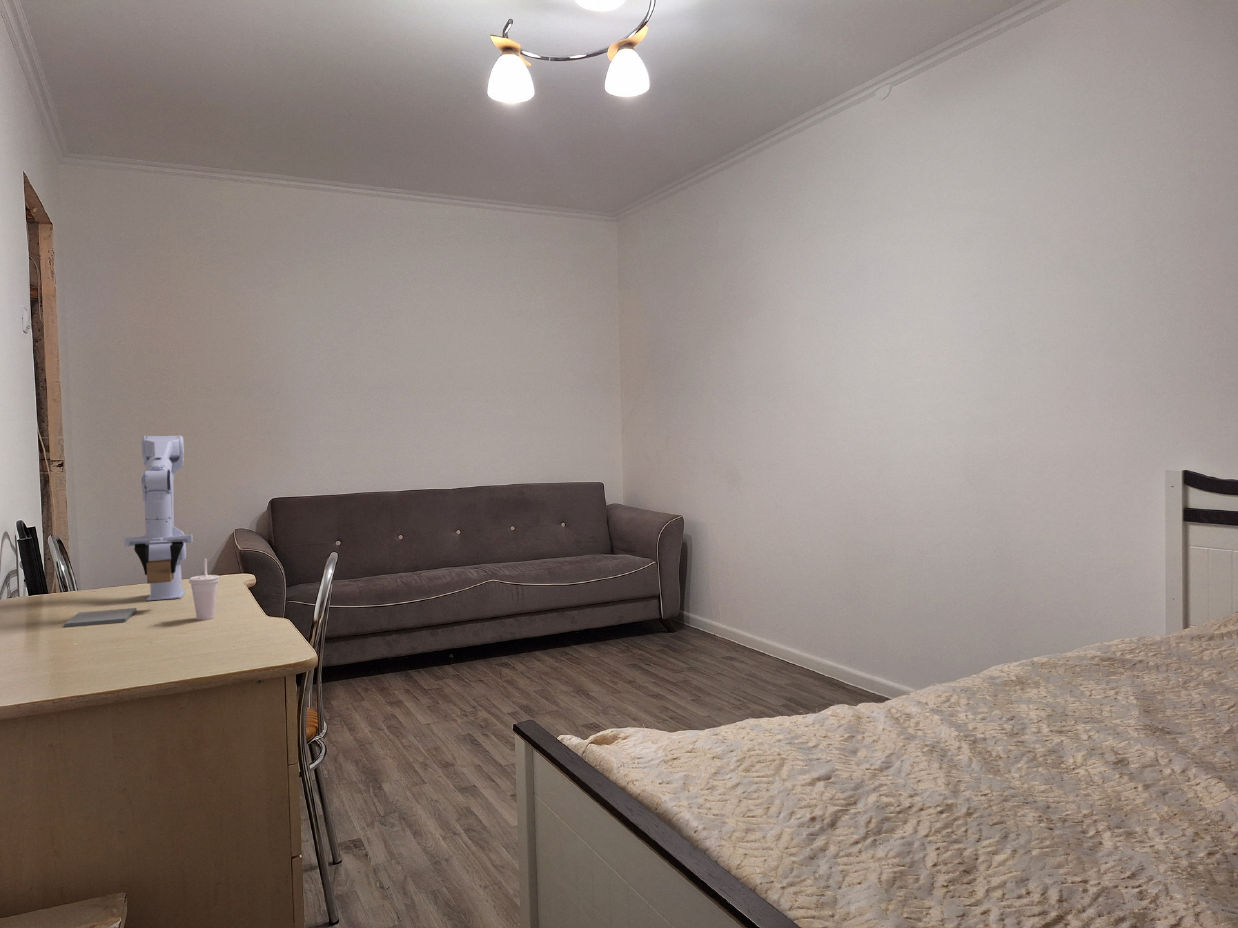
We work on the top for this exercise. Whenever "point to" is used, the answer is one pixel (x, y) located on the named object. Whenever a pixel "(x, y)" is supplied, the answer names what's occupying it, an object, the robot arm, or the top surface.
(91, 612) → the coaster
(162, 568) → the walnut cube
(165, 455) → the robot arm
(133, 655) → the top surface
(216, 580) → the smoothie
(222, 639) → the top surface
